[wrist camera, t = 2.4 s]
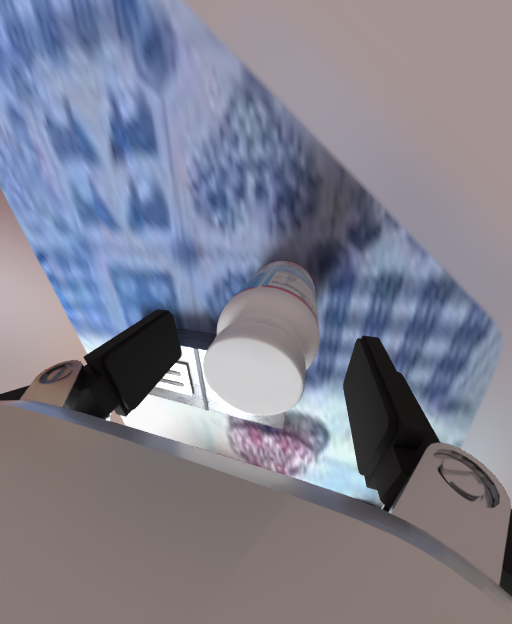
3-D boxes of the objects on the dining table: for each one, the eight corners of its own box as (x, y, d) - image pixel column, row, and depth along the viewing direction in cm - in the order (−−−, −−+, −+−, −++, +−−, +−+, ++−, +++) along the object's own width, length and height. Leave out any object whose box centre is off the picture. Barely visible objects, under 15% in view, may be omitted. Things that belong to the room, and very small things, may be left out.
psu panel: (292, 346, 20) (289, 368, 17) (286, 407, 25) (282, 432, 22) (140, 322, 25) (118, 336, 22) (158, 377, 29) (141, 395, 27)
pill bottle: (260, 322, 20) (212, 421, 10) (245, 266, 18) (165, 326, 8) (320, 316, 18) (329, 433, 8) (312, 252, 16) (311, 311, 6)
